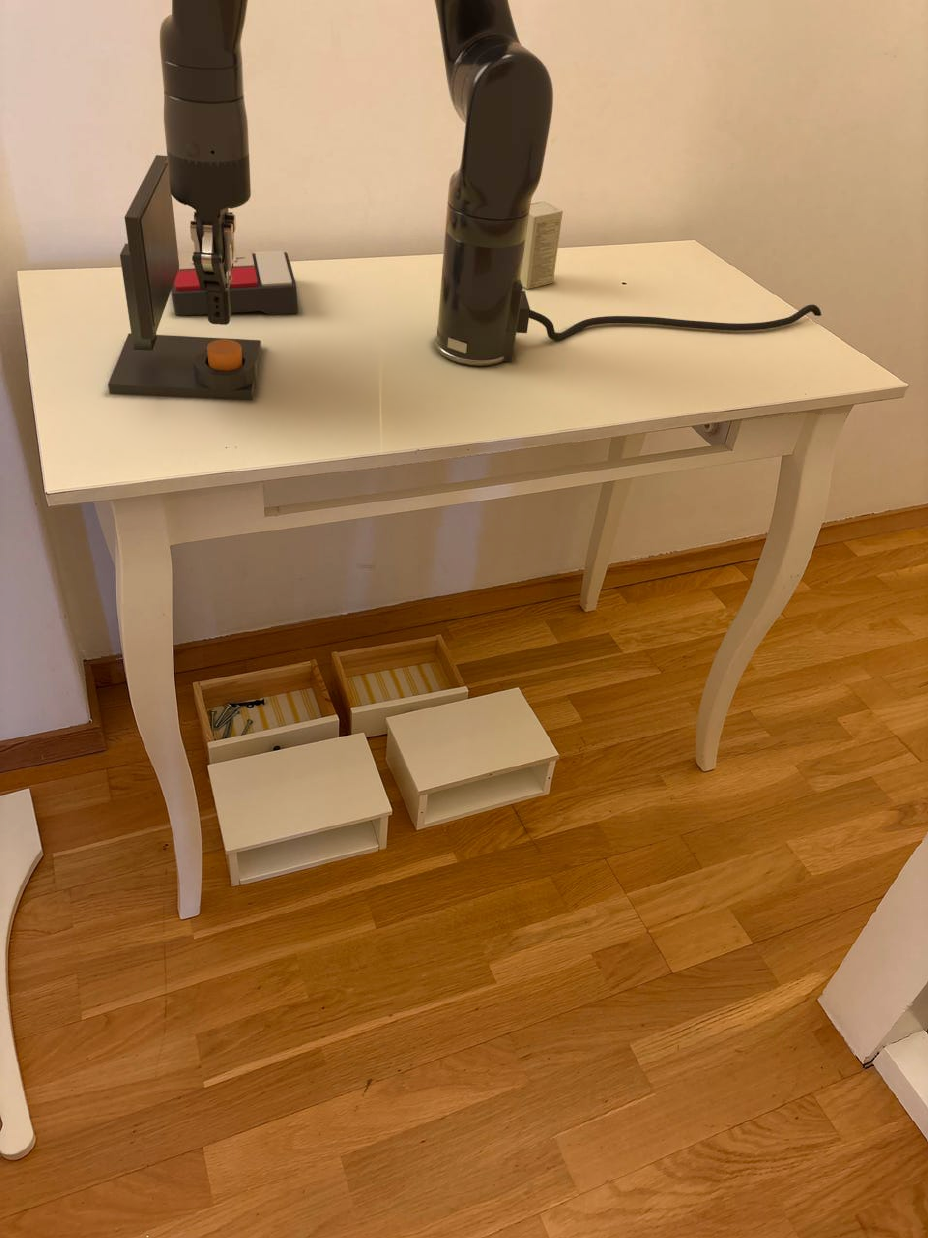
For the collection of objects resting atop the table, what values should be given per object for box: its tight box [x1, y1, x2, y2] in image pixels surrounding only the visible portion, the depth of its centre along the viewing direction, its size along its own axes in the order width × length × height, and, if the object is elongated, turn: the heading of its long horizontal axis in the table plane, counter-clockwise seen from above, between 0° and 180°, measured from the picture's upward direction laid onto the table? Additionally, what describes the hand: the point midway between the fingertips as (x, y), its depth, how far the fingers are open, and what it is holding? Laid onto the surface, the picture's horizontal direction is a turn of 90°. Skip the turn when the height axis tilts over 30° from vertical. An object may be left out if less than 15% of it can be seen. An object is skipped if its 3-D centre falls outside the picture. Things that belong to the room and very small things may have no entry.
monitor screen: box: [124, 154, 179, 340], centre depth 98 cm, size 2×18×12 cm, turn 4°
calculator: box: [170, 250, 299, 317], centre depth 121 cm, size 11×4×15 cm
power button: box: [207, 338, 242, 371], centre depth 103 cm, size 4×4×2 cm
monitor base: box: [107, 332, 262, 401], centre depth 106 cm, size 15×12×3 cm
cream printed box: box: [520, 200, 563, 290], centre depth 132 cm, size 5×4×10 cm
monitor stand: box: [119, 243, 158, 350], centre depth 101 cm, size 2×3×10 cm, turn 5°
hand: (220, 320), depth 101 cm, fingers closed
